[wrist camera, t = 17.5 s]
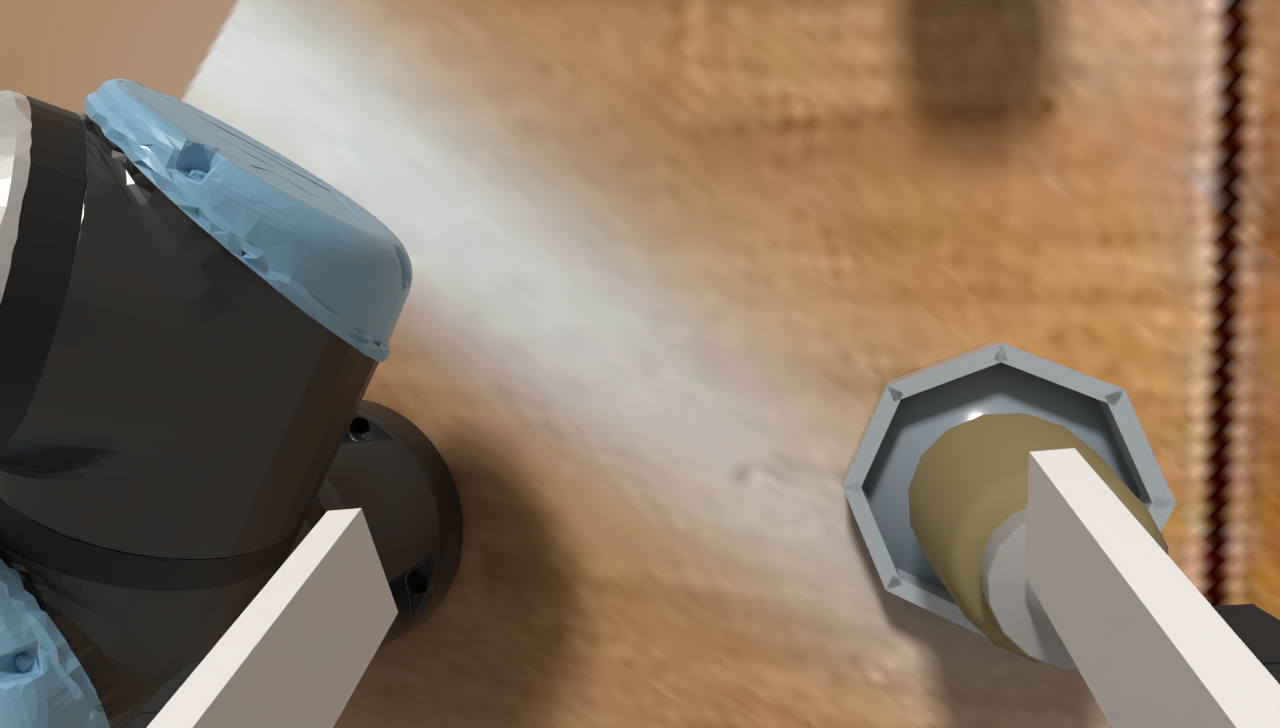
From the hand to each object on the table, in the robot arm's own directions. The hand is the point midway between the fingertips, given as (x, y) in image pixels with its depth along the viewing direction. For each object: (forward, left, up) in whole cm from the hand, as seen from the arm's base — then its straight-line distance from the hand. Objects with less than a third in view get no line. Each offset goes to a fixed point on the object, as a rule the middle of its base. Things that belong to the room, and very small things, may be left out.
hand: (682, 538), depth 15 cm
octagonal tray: (+7, -7, -25) cm, 27 cm away
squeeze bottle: (+7, -7, -24) cm, 26 cm away
